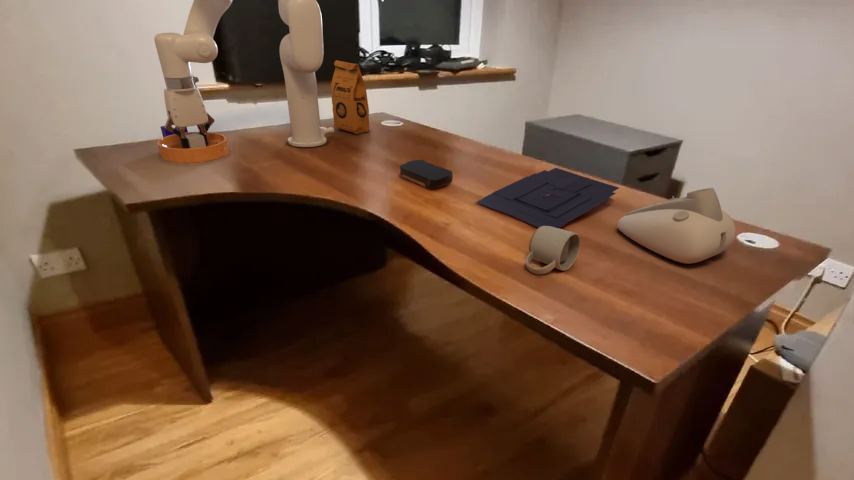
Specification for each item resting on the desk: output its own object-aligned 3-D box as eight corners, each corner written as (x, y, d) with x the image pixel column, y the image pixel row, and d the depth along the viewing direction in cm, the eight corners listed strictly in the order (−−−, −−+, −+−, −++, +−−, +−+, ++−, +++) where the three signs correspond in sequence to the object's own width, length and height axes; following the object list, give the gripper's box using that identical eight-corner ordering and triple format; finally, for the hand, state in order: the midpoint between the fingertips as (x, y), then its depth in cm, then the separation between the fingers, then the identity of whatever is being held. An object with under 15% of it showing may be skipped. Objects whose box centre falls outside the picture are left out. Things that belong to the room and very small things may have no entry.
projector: (708, 230, 126) (729, 168, 117) (742, 276, 107) (770, 206, 99) (613, 223, 128) (627, 162, 119) (630, 267, 109) (648, 198, 100)
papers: (624, 199, 137) (626, 186, 135) (549, 243, 123) (551, 229, 120) (549, 175, 152) (550, 162, 150) (475, 211, 137) (474, 198, 135)
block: (200, 148, 164) (197, 132, 161) (207, 151, 161) (203, 136, 159) (186, 150, 162) (182, 135, 159) (192, 154, 159) (188, 138, 156)
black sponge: (455, 186, 146) (456, 172, 144) (432, 192, 141) (432, 178, 139) (419, 170, 156) (419, 158, 154) (395, 176, 151) (395, 163, 149)
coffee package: (352, 136, 185) (348, 65, 172) (330, 129, 191) (324, 61, 179) (374, 131, 191) (371, 63, 178) (351, 124, 198) (347, 58, 185)
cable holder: (182, 133, 181) (179, 121, 179) (188, 135, 180) (185, 122, 177) (160, 138, 176) (157, 125, 173) (167, 140, 174) (164, 127, 172)
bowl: (212, 143, 173) (209, 128, 170) (240, 157, 162) (237, 141, 159) (151, 153, 162) (147, 138, 159) (176, 169, 151) (172, 153, 148)
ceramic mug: (544, 251, 114) (549, 217, 109) (577, 263, 110) (584, 228, 105) (514, 268, 108) (518, 232, 103) (549, 282, 103) (555, 245, 99)
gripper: (203, 78, 158) (217, 141, 168) (144, 84, 148) (163, 151, 159) (214, 81, 153) (228, 146, 164) (154, 89, 144) (172, 157, 154)
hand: (196, 148), depth 161 cm, fingers closed on block, 4 cm apart
